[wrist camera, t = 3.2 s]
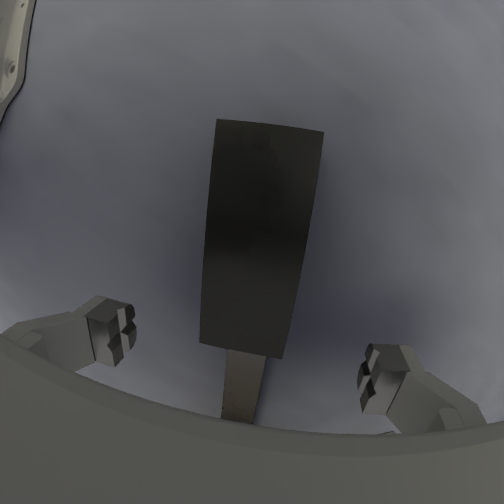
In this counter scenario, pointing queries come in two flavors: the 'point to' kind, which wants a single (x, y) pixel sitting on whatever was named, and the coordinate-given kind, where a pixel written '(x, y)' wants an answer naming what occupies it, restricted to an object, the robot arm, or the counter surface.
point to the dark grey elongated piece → (255, 248)
